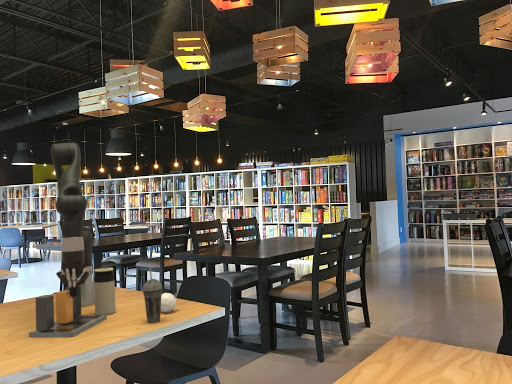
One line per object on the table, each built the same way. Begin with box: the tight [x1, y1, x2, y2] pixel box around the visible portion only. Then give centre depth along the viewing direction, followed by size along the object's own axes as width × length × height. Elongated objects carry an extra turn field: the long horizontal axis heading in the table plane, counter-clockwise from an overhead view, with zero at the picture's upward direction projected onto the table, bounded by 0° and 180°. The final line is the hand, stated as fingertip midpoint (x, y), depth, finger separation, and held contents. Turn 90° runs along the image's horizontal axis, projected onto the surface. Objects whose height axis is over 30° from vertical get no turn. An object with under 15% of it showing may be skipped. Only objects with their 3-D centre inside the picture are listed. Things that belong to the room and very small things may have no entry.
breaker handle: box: [55, 289, 73, 323], centre depth 154 cm, size 4×4×11 cm
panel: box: [28, 286, 108, 338], centre depth 153 cm, size 23×16×13 cm
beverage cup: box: [142, 267, 163, 324], centre depth 157 cm, size 7×7×20 cm
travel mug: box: [93, 267, 116, 315], centre depth 173 cm, size 8×8×18 cm
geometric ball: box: [161, 292, 177, 314], centre depth 171 cm, size 8×8×8 cm
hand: (74, 297), depth 154 cm, fingers closed
